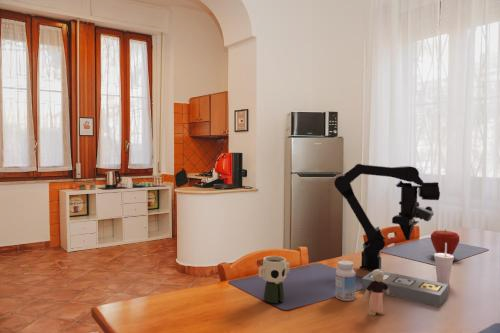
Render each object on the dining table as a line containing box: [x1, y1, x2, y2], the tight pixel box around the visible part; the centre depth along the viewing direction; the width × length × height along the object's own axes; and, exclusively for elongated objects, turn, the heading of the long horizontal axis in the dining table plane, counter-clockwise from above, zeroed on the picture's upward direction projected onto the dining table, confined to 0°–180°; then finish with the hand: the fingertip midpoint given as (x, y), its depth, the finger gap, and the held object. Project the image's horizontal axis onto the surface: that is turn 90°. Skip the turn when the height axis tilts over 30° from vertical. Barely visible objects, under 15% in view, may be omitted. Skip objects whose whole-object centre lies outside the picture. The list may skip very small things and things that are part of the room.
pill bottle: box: [335, 260, 356, 302], centre depth 123 cm, size 6×6×11 cm
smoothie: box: [433, 243, 455, 284], centre depth 138 cm, size 6×6×14 cm
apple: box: [430, 229, 460, 255], centre depth 172 cm, size 11×11×12 cm
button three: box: [420, 283, 441, 292], centre depth 124 cm, size 5×5×3 cm
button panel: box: [361, 270, 449, 307], centre depth 129 cm, size 24×12×4 cm, turn 52°
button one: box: [370, 275, 390, 280], centre depth 134 cm, size 5×5×3 cm
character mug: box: [258, 255, 290, 304], centre depth 120 cm, size 11×7×13 cm, turn 118°
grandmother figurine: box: [363, 269, 390, 316], centre depth 112 cm, size 8×4×13 cm, turn 114°
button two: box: [394, 278, 415, 286], centre depth 129 cm, size 5×5×3 cm
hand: (407, 239), depth 151 cm, fingers closed
